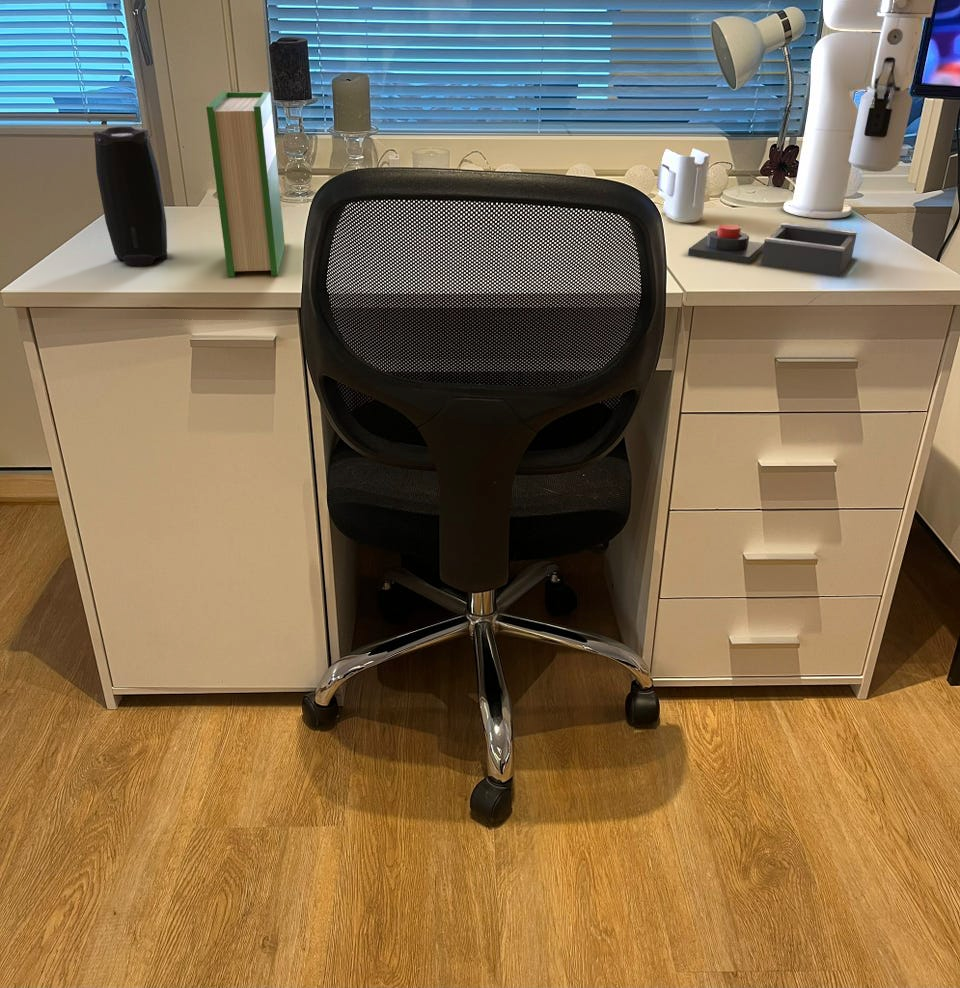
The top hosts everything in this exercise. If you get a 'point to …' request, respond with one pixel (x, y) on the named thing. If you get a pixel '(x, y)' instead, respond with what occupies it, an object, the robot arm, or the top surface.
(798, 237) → the grey open tray
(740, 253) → the control block
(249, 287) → the top surface
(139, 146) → the portable speaker
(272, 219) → the hardback book
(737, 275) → the top surface
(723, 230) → the release button
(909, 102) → the can
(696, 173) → the cable organizer
